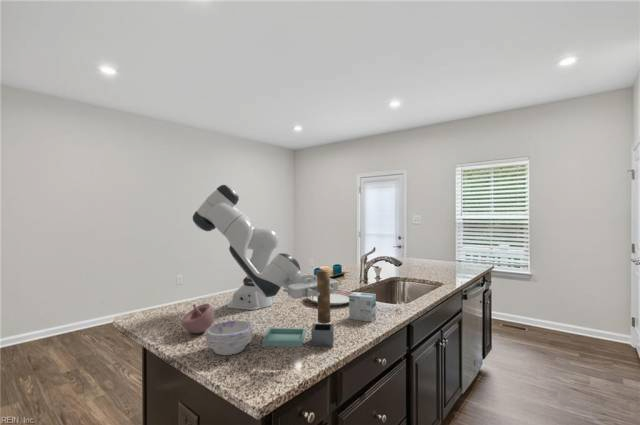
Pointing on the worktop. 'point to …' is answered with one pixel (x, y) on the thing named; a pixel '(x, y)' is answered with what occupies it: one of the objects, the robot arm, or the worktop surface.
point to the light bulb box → (362, 306)
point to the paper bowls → (229, 337)
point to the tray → (284, 337)
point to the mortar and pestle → (199, 318)
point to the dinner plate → (335, 297)
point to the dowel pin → (323, 296)
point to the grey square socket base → (322, 335)
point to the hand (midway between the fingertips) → (325, 292)
